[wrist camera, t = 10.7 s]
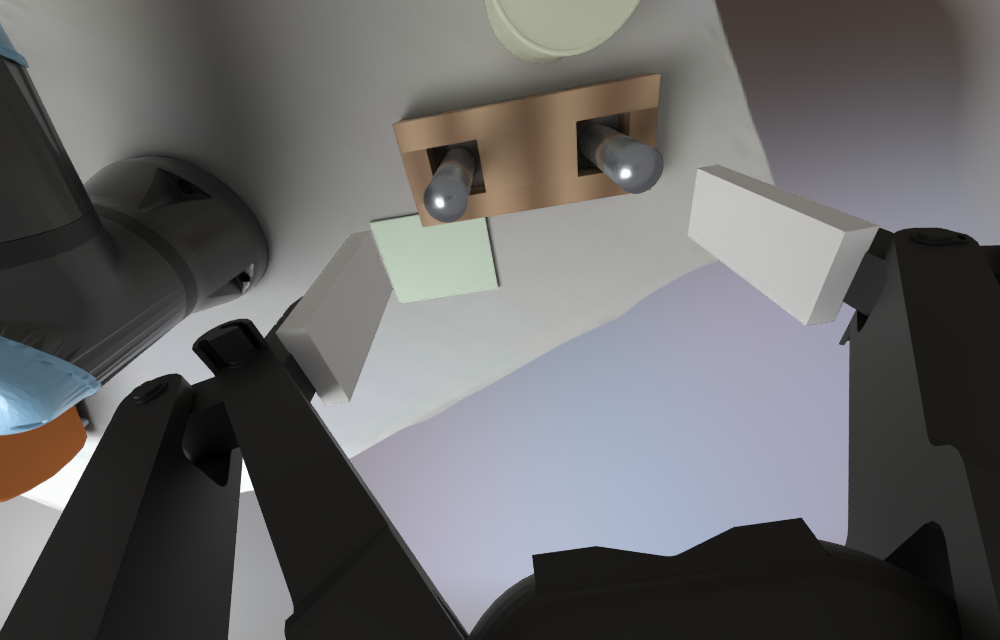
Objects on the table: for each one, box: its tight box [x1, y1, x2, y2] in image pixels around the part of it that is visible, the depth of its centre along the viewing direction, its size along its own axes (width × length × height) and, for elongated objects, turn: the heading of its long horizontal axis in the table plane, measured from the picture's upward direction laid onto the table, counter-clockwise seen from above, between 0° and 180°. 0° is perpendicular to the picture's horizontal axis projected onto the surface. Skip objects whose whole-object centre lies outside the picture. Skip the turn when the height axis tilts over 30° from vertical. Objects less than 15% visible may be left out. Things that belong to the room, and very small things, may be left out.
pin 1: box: [423, 148, 475, 223], centre depth 29 cm, size 3×3×12 cm
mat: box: [370, 214, 498, 303], centre depth 39 cm, size 12×10×1 cm
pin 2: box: [580, 124, 663, 194], centre depth 28 cm, size 3×3×12 cm
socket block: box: [392, 74, 661, 227], centre depth 32 cm, size 22×9×3 cm, turn 99°
